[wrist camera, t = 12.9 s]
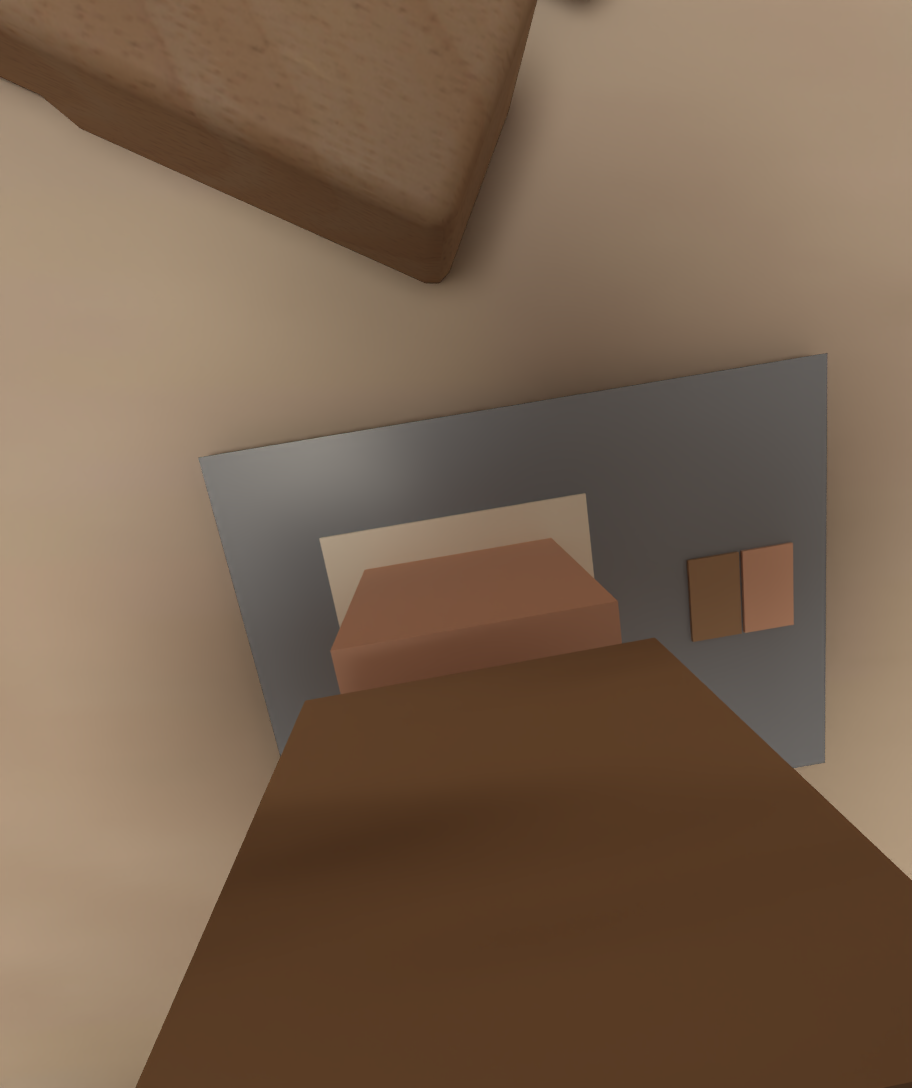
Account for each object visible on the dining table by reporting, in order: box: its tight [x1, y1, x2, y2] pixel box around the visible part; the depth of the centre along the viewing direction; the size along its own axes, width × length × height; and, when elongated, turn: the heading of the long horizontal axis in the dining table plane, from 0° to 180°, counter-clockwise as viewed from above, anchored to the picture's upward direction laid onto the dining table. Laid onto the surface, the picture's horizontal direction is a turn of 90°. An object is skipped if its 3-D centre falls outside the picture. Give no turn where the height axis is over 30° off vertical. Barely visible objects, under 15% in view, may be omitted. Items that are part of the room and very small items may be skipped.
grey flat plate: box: [199, 353, 827, 768], centre depth 15 cm, size 12×16×1 cm
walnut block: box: [136, 638, 912, 1088], centre depth 6 cm, size 5×5×5 cm
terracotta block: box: [330, 538, 622, 694], centre depth 12 cm, size 5×5×5 cm
